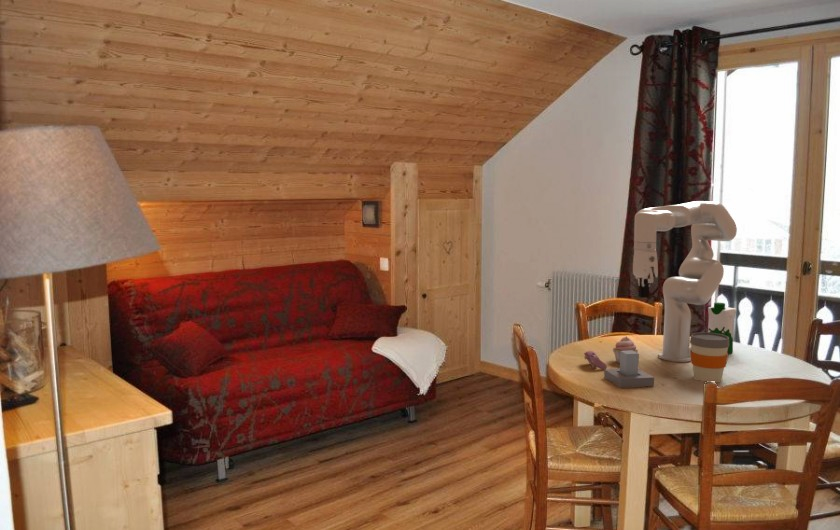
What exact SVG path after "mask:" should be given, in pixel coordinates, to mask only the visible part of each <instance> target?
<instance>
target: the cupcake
mask: <svg viewBox="0 0 840 530" xmlns="http://www.w3.org/2000/svg"><path fill="white" fill-rule="evenodd" d="M630 350H633V351H635V352H637V353H639V349H637V346H636V345H635V344H634V341H633V340H632V339H631V338H629V337H628V336H625V337H622V338H621V339H620V340H619V341H616V343H615V347H612V352H613V353H614V359H615V361H616V362H617V363H618V364H620V351H630Z"/></svg>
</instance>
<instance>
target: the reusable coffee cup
mask: <svg viewBox="0 0 840 530" xmlns="http://www.w3.org/2000/svg"><path fill="white" fill-rule="evenodd" d="M690 347H691V350H690V354H691V361H690V363H691V365H692V373H693V379H695V380H696V379H697V381H699V380H701V381H700V382H704V381H715V382H714V383H720V382H722V380H723V375H724V369H725V368H726V366H727V362H728V357H729V354H728V353H727V351H728V347H729V337H728V336H726V335H722V334H717V333H708V331H706V332H705V331H704V332H703V331H702V332H694V333H690Z"/></svg>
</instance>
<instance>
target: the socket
mask: <svg viewBox="0 0 840 530" xmlns="http://www.w3.org/2000/svg"><path fill="white" fill-rule="evenodd" d="M603 372H604V373H603V374H604V375H603V378H604V379H605V380H606V381H608V382H610V383H612V384H613V385H615V386H616V387H618V388H620V389H622V388H623V389H625V388H646V386H648V387H654V386H655V377H654V376H652V374H649V373H647V372H645V371H643V370H641V369H640V368H638V376H623V375H622V374H620V368H606V369H604V371H603Z"/></svg>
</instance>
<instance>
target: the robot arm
mask: <svg viewBox="0 0 840 530" xmlns="http://www.w3.org/2000/svg"><path fill="white" fill-rule="evenodd" d="M687 226H691V227H690V232H691V244H692V245H691V249H690V251H689V252H688V254H687V256H686V257H685V259H684V260H683V262H682V263H681V264H680V266H679V269H678V276H671V277H668V278H666V279H665V281H664V283H663V284H662V285H663V286H662V294H663V299H664V301H663V302H664V318H663V341H662V342H663V343H662V351H661V352H658V354H657V355H658V356H657V357H658V358H659V359H661V360H663V361H668V362H675V363H686V362H687V363H688V362H691V354H690V350H691V346H690V345H691V343H690V339H691V324H692V323H691V321H692V313H691V309H690V307H689V305H688V304H691V305H697V306H703V305H706V304H707V303H709V301H710V300H711V299H712V298H713V297H712V296H713V295H714V293H715V292H716V290H717V289H718V288H719V285H720V284H721V283H722V279H723V278H724V277H723V276H724V272H725V271H724V265H723V264H722V263H721V262H720V261H719V260H717V259H714V258H713V257H714V249H712V247H711V245H710V242H709V241H716V242H730V241H733V240H734V238H735V237H736V235H737V232H738V231H737V230H738V229H737V228H738V227H737V225H736V222H735V220H734V219H733V217H732V216H731V213H729V211H728V210H727V208H726V207H725V206H724V205H723V204H722V203H720V202H719V201H708V200H705V201H704V200H696V201H695V200H694V201H690V202H684V203H680V204H679V203H678V204H671V205H664V206H655V207H647V208H642V209H640V210H638V211H637V212H636V213H635V215H634V230H633V231H634V233H633V234H634V235H633V250H634V252H633V259H632V274H633V276H634V278H635V279H636V280H637V285H638V297H639V298H645V299H646V298H649V297H650V287H651V283H652V284H653V283H654V279H658V277H659V263H658V262H659V261H658V253H657V232H667V231H670V230H672V229H673V228H682V227H687Z"/></svg>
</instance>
